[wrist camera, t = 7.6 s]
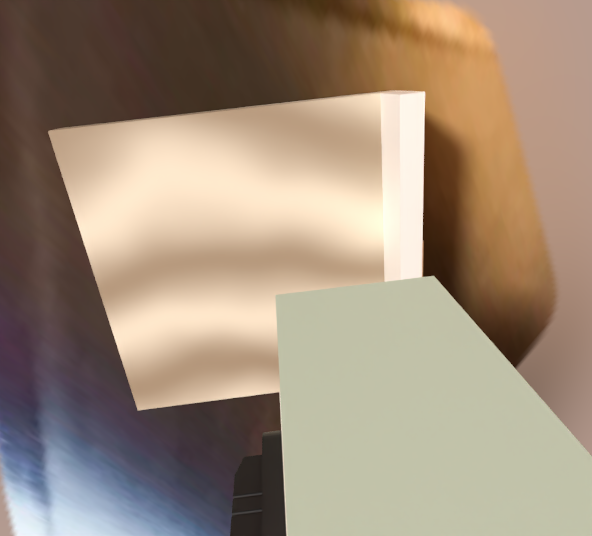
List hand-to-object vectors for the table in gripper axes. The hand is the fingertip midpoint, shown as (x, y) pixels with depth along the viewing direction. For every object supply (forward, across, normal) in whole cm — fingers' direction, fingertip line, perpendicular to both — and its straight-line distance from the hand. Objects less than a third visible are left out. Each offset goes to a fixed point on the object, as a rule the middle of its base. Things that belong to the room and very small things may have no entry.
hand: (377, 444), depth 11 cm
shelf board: (+14, +4, 0) cm, 14 cm away
